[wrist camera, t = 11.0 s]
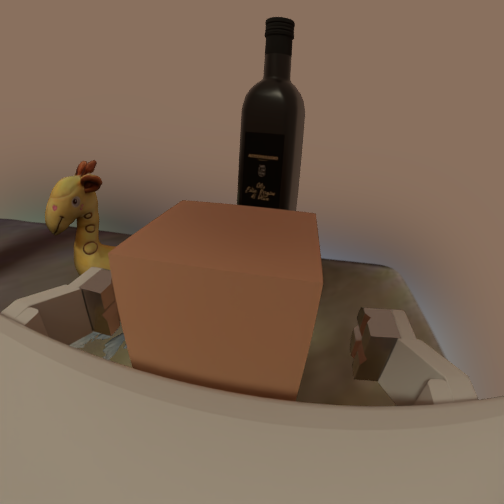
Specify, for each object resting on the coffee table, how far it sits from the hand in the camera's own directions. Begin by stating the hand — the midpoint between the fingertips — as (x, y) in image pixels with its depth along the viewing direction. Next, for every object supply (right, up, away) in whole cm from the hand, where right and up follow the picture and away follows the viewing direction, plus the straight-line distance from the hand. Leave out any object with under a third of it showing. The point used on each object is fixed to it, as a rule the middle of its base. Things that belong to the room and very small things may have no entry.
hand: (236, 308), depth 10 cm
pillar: (-1, -7, +2) cm, 7 cm away
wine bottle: (+2, -1, +27) cm, 27 cm away
